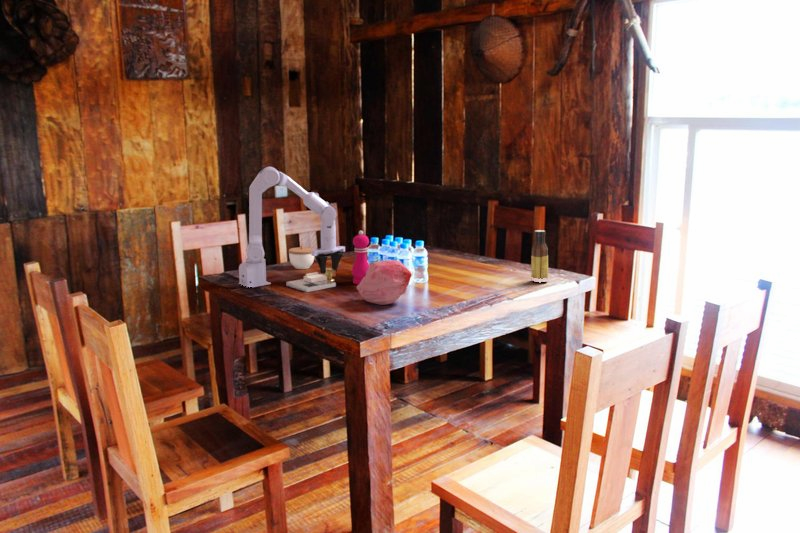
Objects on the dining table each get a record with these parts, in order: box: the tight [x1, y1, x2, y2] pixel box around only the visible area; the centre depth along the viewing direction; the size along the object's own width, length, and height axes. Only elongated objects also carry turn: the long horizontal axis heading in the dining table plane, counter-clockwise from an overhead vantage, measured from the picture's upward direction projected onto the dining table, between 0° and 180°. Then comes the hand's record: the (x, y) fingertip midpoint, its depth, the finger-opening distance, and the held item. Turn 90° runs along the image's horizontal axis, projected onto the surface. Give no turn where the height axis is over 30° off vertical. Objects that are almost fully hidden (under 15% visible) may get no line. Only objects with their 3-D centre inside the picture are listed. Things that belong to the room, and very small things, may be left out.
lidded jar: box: [288, 244, 316, 270], centre depth 285 cm, size 11×11×9 cm
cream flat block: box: [303, 271, 327, 283], centre depth 256 cm, size 7×5×2 cm
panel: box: [285, 278, 337, 293], centre depth 254 cm, size 13×13×2 cm
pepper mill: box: [351, 230, 370, 285], centre depth 257 cm, size 7×7×20 cm
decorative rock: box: [356, 259, 412, 306], centre depth 229 cm, size 19×14×15 cm
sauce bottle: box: [530, 229, 549, 279], centre depth 260 cm, size 7×6×20 cm
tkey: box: [324, 267, 337, 282], centre depth 262 cm, size 6×4×5 cm, turn 42°
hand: (328, 272), depth 262 cm, fingers open, 5 cm apart
